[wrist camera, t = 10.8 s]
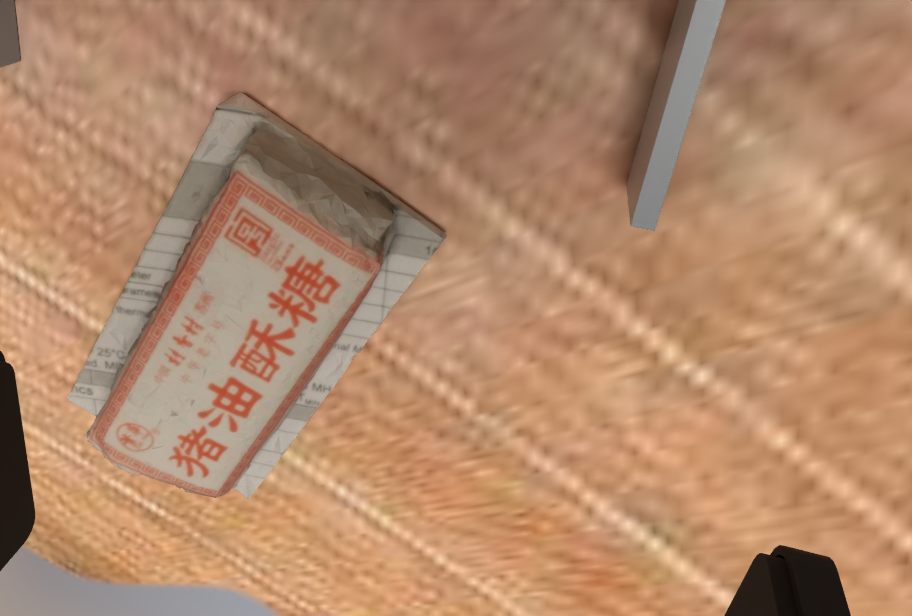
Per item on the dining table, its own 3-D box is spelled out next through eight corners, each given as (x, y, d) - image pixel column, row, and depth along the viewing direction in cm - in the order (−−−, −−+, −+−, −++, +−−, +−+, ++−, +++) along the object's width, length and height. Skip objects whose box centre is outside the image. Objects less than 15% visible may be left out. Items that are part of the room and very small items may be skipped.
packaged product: (183, 113, 27) (430, 278, 29) (238, 79, 31) (451, 225, 33) (21, 442, 35) (219, 556, 37) (82, 381, 40) (257, 485, 41)
